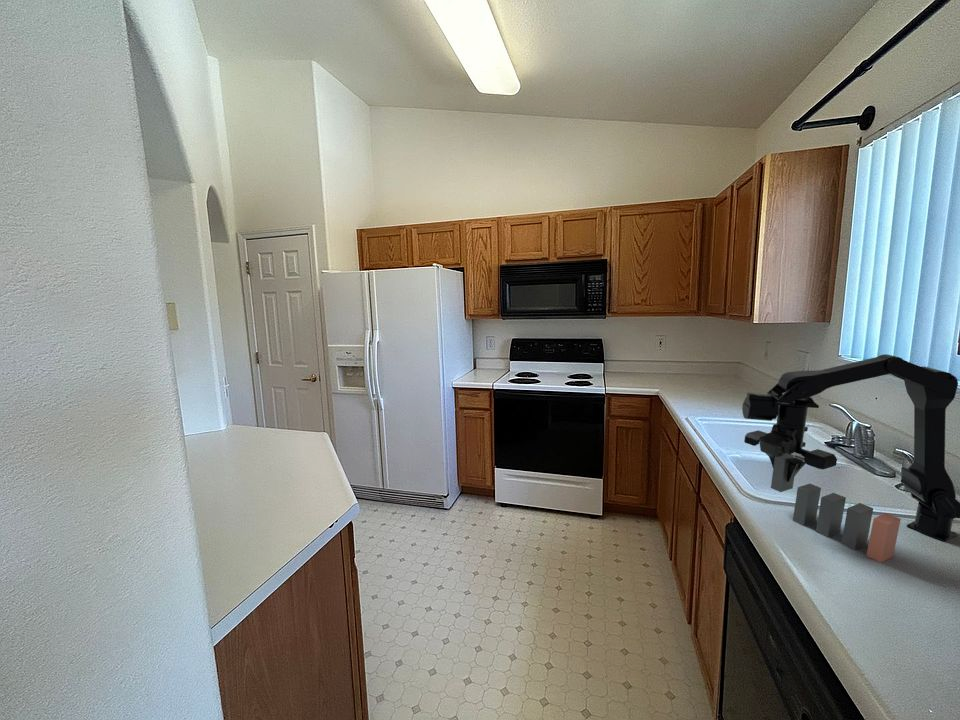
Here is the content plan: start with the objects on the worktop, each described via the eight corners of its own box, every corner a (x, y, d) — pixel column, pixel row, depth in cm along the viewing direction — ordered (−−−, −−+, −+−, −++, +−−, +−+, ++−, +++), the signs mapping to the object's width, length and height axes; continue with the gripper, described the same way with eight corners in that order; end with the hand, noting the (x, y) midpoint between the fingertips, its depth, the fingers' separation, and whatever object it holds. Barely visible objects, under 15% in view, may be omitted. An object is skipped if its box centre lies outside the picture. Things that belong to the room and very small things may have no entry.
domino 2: (792, 520, 99) (797, 487, 98) (804, 515, 101) (809, 483, 99) (803, 525, 97) (808, 491, 95) (815, 520, 99) (821, 487, 97)
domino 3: (815, 531, 95) (821, 497, 93) (828, 526, 96) (833, 492, 95) (827, 537, 92) (833, 502, 91) (840, 532, 94) (845, 497, 93)
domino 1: (770, 487, 103) (775, 455, 102) (782, 484, 105) (787, 452, 104) (780, 492, 101) (785, 459, 100) (792, 488, 103) (797, 456, 102)
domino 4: (841, 543, 90) (847, 507, 88) (853, 538, 92) (859, 502, 90) (854, 550, 88) (861, 513, 86) (866, 544, 90) (873, 508, 88)
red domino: (866, 555, 86) (873, 518, 84) (878, 549, 88) (885, 513, 86) (880, 562, 84) (888, 524, 82) (893, 556, 86) (900, 518, 84)
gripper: (733, 415, 106) (727, 470, 108) (814, 439, 89) (804, 503, 91) (760, 410, 110) (754, 462, 113) (842, 432, 93) (832, 493, 96)
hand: (783, 479), depth 103 cm, fingers closed on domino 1, 2 cm apart
